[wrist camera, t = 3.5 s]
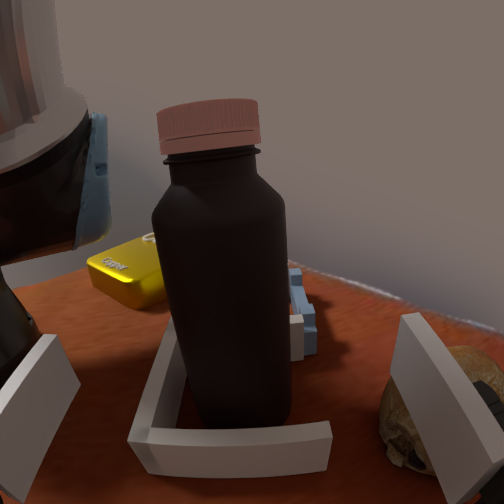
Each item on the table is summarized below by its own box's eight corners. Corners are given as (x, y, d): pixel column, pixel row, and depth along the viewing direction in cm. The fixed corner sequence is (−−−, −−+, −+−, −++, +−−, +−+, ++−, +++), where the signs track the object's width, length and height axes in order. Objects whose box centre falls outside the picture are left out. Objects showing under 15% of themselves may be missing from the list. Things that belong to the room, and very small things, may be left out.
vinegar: (192, 442, 18) (112, 115, 11) (207, 377, 25) (162, 118, 18) (293, 442, 18) (279, 90, 11) (289, 375, 24) (275, 104, 17)
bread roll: (355, 449, 20) (337, 423, 15) (420, 348, 24) (421, 292, 19) (457, 501, 13) (482, 496, 8) (515, 385, 17) (547, 334, 12)
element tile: (89, 285, 44) (80, 257, 43) (161, 252, 55) (156, 227, 53) (138, 316, 35) (129, 280, 34) (222, 269, 46) (218, 238, 44)
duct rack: (148, 473, 16) (127, 440, 14) (195, 298, 38) (189, 268, 36) (345, 467, 15) (354, 433, 14) (298, 290, 37) (297, 259, 36)
